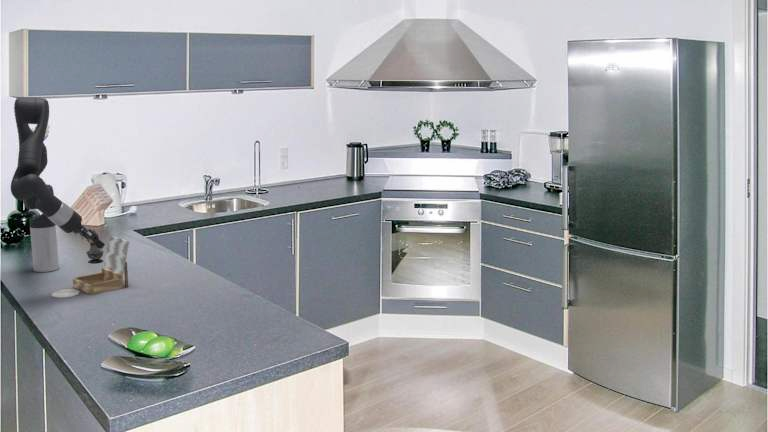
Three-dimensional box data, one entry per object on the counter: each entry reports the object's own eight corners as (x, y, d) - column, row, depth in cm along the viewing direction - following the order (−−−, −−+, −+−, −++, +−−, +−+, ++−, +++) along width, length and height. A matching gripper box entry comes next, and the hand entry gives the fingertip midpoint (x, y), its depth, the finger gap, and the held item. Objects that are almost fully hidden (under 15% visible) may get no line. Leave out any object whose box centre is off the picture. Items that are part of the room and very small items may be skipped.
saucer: (47, 294, 286) (47, 292, 286) (72, 289, 292) (72, 287, 292) (58, 299, 280) (58, 297, 280) (83, 294, 286) (83, 292, 286)
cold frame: (73, 287, 295) (69, 241, 292) (113, 279, 306) (110, 235, 303) (91, 294, 285) (87, 247, 282) (132, 286, 296) (129, 240, 293)
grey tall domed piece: (86, 264, 289) (84, 231, 287) (87, 260, 295) (85, 227, 292) (103, 263, 291) (101, 230, 288) (104, 259, 296) (102, 226, 294)
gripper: (80, 211, 279) (116, 240, 289) (62, 205, 289) (97, 234, 299) (66, 228, 276) (102, 257, 287) (48, 222, 286) (84, 250, 297)
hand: (100, 245), depth 293 cm, fingers closed on grey tall domed piece, 3 cm apart
